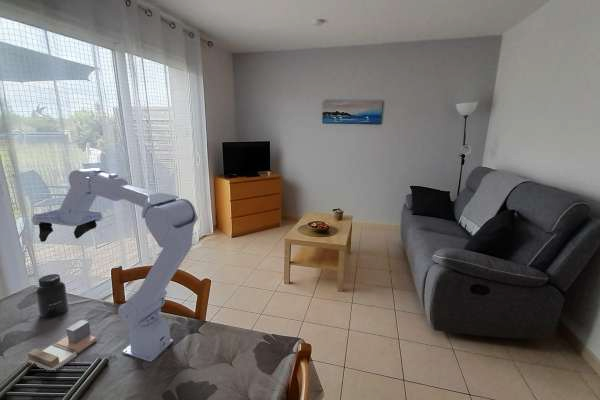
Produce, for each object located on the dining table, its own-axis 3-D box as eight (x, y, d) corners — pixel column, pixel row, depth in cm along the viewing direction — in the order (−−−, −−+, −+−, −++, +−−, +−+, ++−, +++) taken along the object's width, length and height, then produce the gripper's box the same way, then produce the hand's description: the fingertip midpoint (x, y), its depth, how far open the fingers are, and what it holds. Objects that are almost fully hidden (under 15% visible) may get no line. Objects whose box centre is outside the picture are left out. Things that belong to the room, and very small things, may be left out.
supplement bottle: (55, 319, 83) (49, 284, 81) (33, 318, 83) (26, 282, 81) (74, 306, 90) (69, 272, 87) (53, 304, 90) (47, 271, 87)
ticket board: (76, 355, 71) (75, 345, 70) (52, 372, 66) (50, 361, 65) (54, 347, 73) (52, 338, 72) (29, 363, 68) (27, 353, 67)
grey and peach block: (97, 339, 76) (95, 323, 75) (77, 353, 71) (74, 337, 70) (77, 332, 78) (75, 317, 77) (56, 346, 73) (53, 330, 72)
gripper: (102, 194, 79) (85, 224, 84) (36, 192, 67) (20, 228, 71) (111, 212, 77) (93, 242, 82) (44, 214, 64) (27, 250, 69)
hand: (59, 237), depth 76 cm, fingers open, 7 cm apart
